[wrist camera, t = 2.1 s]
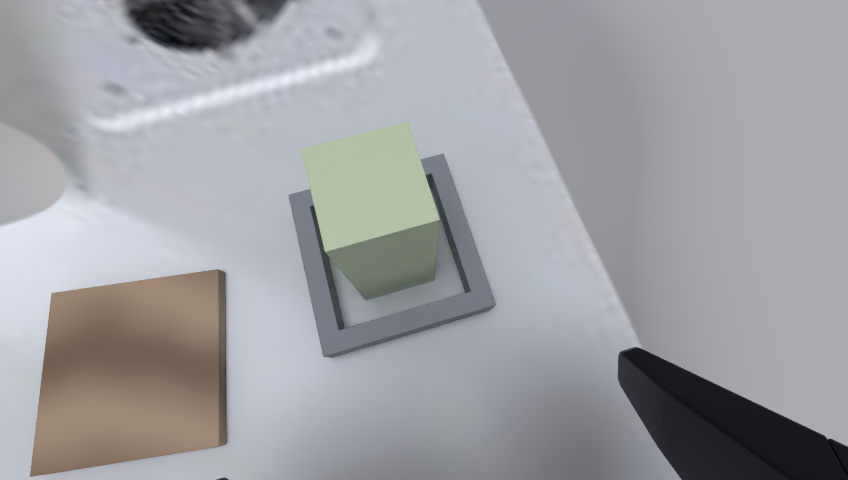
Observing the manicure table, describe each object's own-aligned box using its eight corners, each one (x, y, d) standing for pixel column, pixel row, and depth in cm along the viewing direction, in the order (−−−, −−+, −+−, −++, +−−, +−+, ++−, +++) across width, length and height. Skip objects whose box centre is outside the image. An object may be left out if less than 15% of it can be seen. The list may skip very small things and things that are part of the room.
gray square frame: (490, 309, 23) (495, 304, 21) (331, 357, 22) (323, 356, 21) (442, 169, 26) (443, 153, 24) (298, 208, 25) (288, 194, 23)
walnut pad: (226, 443, 21) (218, 446, 20) (44, 472, 21) (30, 476, 20) (225, 272, 24) (218, 269, 23) (63, 295, 24) (51, 293, 23)
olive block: (434, 280, 24) (439, 219, 14) (365, 300, 23) (325, 251, 14) (414, 217, 25) (407, 121, 15) (349, 235, 25) (300, 149, 15)
